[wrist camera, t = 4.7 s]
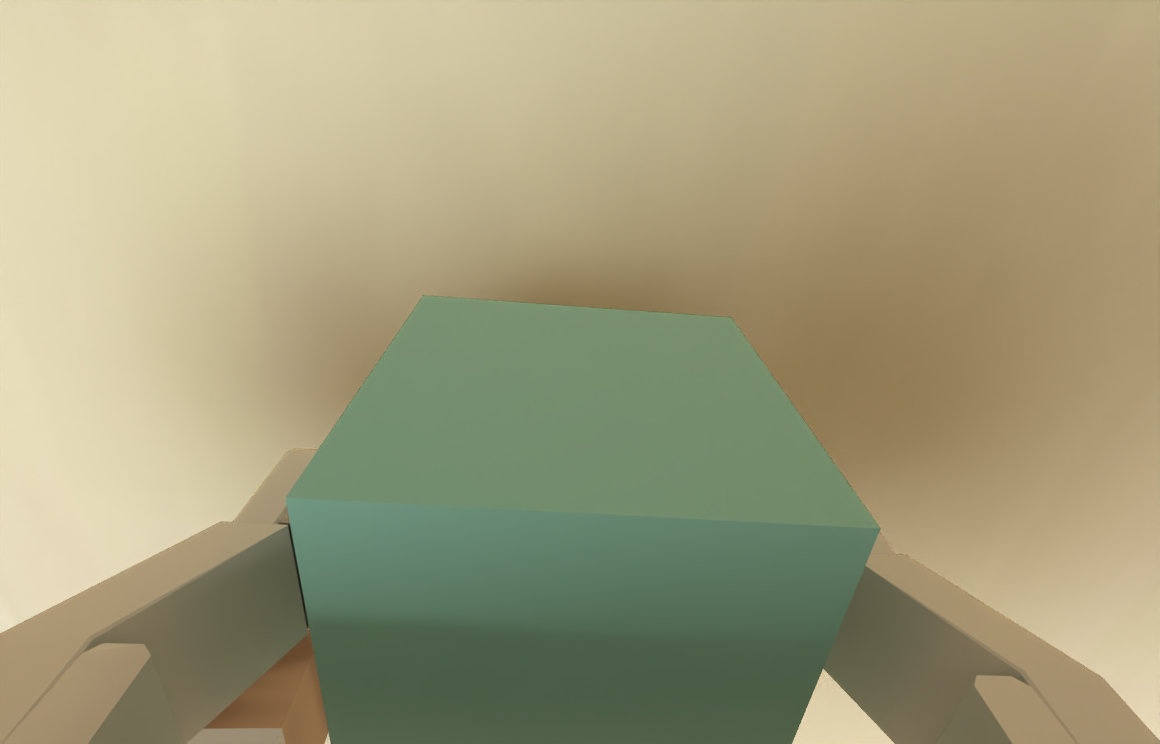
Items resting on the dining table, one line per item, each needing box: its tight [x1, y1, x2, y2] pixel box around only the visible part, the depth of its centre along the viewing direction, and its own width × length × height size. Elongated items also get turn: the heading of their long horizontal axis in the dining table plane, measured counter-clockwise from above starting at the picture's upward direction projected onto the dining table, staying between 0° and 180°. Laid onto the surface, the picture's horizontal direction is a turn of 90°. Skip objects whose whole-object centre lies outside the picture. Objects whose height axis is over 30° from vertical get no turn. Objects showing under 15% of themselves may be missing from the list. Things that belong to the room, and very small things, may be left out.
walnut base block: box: [203, 630, 328, 744], centre depth 22 cm, size 5×5×5 cm
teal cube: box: [285, 295, 880, 744], centre depth 8 cm, size 5×5×5 cm
